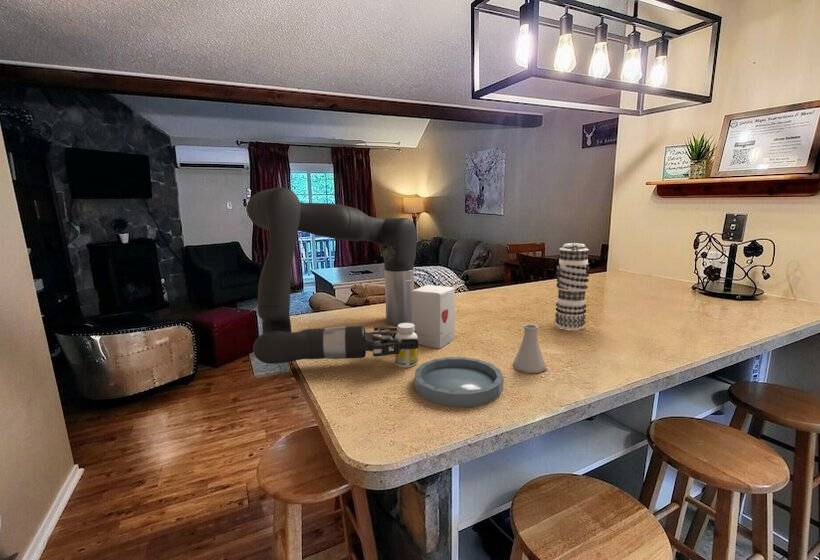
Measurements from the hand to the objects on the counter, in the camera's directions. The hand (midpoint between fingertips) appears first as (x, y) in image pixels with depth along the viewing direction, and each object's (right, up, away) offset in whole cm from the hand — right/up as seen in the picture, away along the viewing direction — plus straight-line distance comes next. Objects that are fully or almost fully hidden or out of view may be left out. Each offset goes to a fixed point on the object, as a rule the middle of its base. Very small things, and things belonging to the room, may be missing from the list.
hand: (416, 339), depth 94 cm
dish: (+8, -8, -11) cm, 16 cm away
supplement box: (+5, -3, +16) cm, 17 cm away
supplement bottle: (-2, -6, +1) cm, 7 cm away
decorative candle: (+47, 0, +27) cm, 54 cm away
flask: (+26, -6, -3) cm, 27 cm away
